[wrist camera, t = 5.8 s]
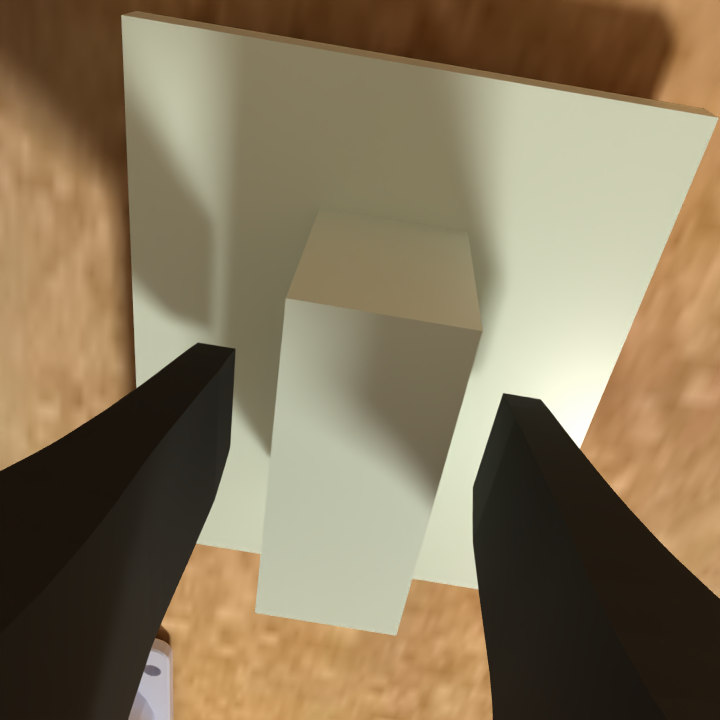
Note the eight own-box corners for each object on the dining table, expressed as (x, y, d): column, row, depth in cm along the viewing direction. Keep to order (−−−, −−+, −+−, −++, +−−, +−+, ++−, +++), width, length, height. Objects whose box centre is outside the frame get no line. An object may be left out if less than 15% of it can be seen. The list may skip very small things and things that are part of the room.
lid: (510, 548, 17) (538, 736, 13) (162, 491, 16) (81, 664, 13) (686, 97, 11) (834, 189, 7) (154, 6, 11) (2, 47, 7)
